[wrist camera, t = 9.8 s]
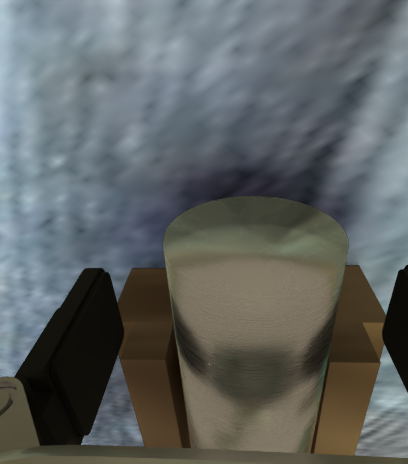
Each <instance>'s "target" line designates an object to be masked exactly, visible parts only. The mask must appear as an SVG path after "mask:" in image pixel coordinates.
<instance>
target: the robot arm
mask: <svg viewBox="0 0 408 464" xmlns="http://www.w3.org/2000/svg"><path fill="white" fill-rule="evenodd" d="M382 338H383V342H384V344H385V346H386V348H387V350H388V352H389V354H390V356H391V359H392V361H393V363H394V365H395V367H396V369H397V371H398V373H399V375H400V377H401V380H402V382H403V384H404V386H405V388H406V390H407V392H408V265H406V266H405V268H404V269H401V270H400V271H399V272H398V275H397V279H396V282H395V286H394V289H393V293H392V297H391V300H390V304H389V307H388V311H387V314H386V318H385V322H384V325H383V329H382ZM123 339H124V326H123V322H122V319H121V315H120V311H119V307H118V304H117V300H116V296H115V292H114V289H113V285H112V281H111V277H110V274H109V273H108V272H105V271H104V269H102V268H86V269H84V270H83V272H82V273H81V275H80V276H79V278H78V280H77V281H76V283H75V284H74V286H73V288H72V289H71V291H70V292H69V294H68V296H67V297H66V299H65V301H64V302H63V304H62V305H61V307H60V308H58V309H57V310H56V312H55V313H54V315H53V316H52V318H51V319H50V321H49V323H48V324H47V326H46V327H45V329H44V330H43V332H42V334H41V335H40V337H39V338H38V340H37V342H36V343H35V345H34V346H33V348H32V350H31V351H30V353H29V354H28V356H27V358H26V359H25V361H24V362H23V364H22V365H21V367H20V369H19V370H18V372H17V373H16V375H15V377H1V378H0V464H408V458H393V457H372V456H352V455H331V454H310V453H287V452H264V451H241V450H217V449H192V448H166V447H139V446H103V445H81V443H82V440H83V437H84V435H88V434H89V433H90V431H91V429H92V426H93V423H94V421H95V418H96V415H97V412H98V409H99V406H100V404H101V401H102V398H103V395H104V392H105V390H106V387H107V384H108V381H109V378H110V375H111V373H112V370H113V367H114V364H115V361H116V359H117V356H118V353H119V350H120V347H121V344H122V342H123Z"/></svg>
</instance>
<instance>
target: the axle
mask: <svg viewBox="0 0 408 464" xmlns="http://www.w3.org/2000/svg"><path fill="white" fill-rule="evenodd" d="M348 248H349V243H348V238H347V235H346V233H345V231H344V230H343V228H342V227H341V226H340V225H339V224H338V223H337V222H336V221H335V220H334V219H333V218H331V217H330V216H329V215H327V214H325V213H324V212H322V211H320V210H318V209H316V208H314V207H311V206H309V205H306V204H303V203H300V202H296V201H292V200H288V199H282V198H275V197H265V196H239V197H230V198H223V199H218V200H214V201H210V202H206V203H203V204H201V205H198V206H195V207H193V208H191V209H189V210H187V211H185V212H184V213H182V214H181V215H179V216H178V217H176V218H175V219H174V220H173V221H172V222H171V223H170V225H169V226H168V227H167V229H166V231H165V233H164V237H163V250H164V257H165V264H166V271H167V278H168V286H169V293H170V300H171V307H172V314H173V322H174V329H175V336H176V343H177V350H178V358H179V365H180V372H181V379H182V386H183V394H184V401H185V408H186V415H187V423H188V430H189V437H190V444H191V448H192V449H217V450H241V451H264V452H287V453H310V451H311V446H312V441H313V435H314V430H315V425H316V419H317V414H318V409H319V403H320V398H321V393H322V387H323V382H324V377H325V371H326V366H327V361H328V355H329V350H330V345H331V339H332V334H333V329H334V323H335V318H336V313H337V307H338V302H339V297H340V292H341V286H342V281H343V276H344V270H345V265H346V260H347V254H348Z"/></svg>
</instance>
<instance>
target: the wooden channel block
mask: <svg viewBox="0 0 408 464" xmlns="http://www.w3.org/2000/svg"><path fill="white" fill-rule="evenodd" d="M117 304H118V307H119V311H120V315H121V319H122V322H123V326H124V339H123V342H122V344H121V347H120V350H119V353H118V355H119V358H120V362H121V365H122V369H123V372H124V376H125V379H126V383H127V386H128V390H129V393H130V397H131V400H132V404H133V407H134V411H135V414H136V418H137V421H138V424H139V428H140V431H141V435H142V438H143V442H144V445H145V447H166V448H191V444H190V437H189V430H188V423H187V415H186V408H185V401H184V394H183V386H182V379H181V372H180V365H179V358H178V350H177V343H176V336H175V329H174V322H173V314H172V307H171V300H170V293H169V286H168V278H167V271H166V268H144V269H132V270H131V272H130V274H129V277H128V279H127V281H126V284H125V286H124V288H123V291H122V293H121V295H120V298H119V300H118V303H117ZM385 318H386V314H385V312H384V310H383V309H382V307H381V305H380V303H379V301H378V299H377V298H376V296H375V294H374V292H373V290H372V288H371V287H370V285H369V283H368V281H367V279H366V277H365V276H364V274H363V272H362V270H361V268H360V266H345V270H344V276H343V281H342V286H341V292H340V297H339V302H338V307H337V313H336V318H335V323H334V329H333V334H332V339H331V345H330V350H329V355H328V361H327V366H326V371H325V377H324V382H323V387H322V393H321V398H320V403H319V409H318V414H317V419H316V425H315V430H314V435H313V441H312V446H311V451H310V454H331V455H352V456H354V454H355V451H356V447H357V444H358V440H359V437H360V433H361V430H362V426H363V423H364V419H365V416H366V412H367V409H368V405H369V402H370V398H371V395H372V391H373V388H374V384H375V381H376V377H377V374H378V370H379V367H380V357H381V354H382V350H383V347H384V342H383V338H382V329H383V325H384V322H385Z"/></svg>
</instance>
